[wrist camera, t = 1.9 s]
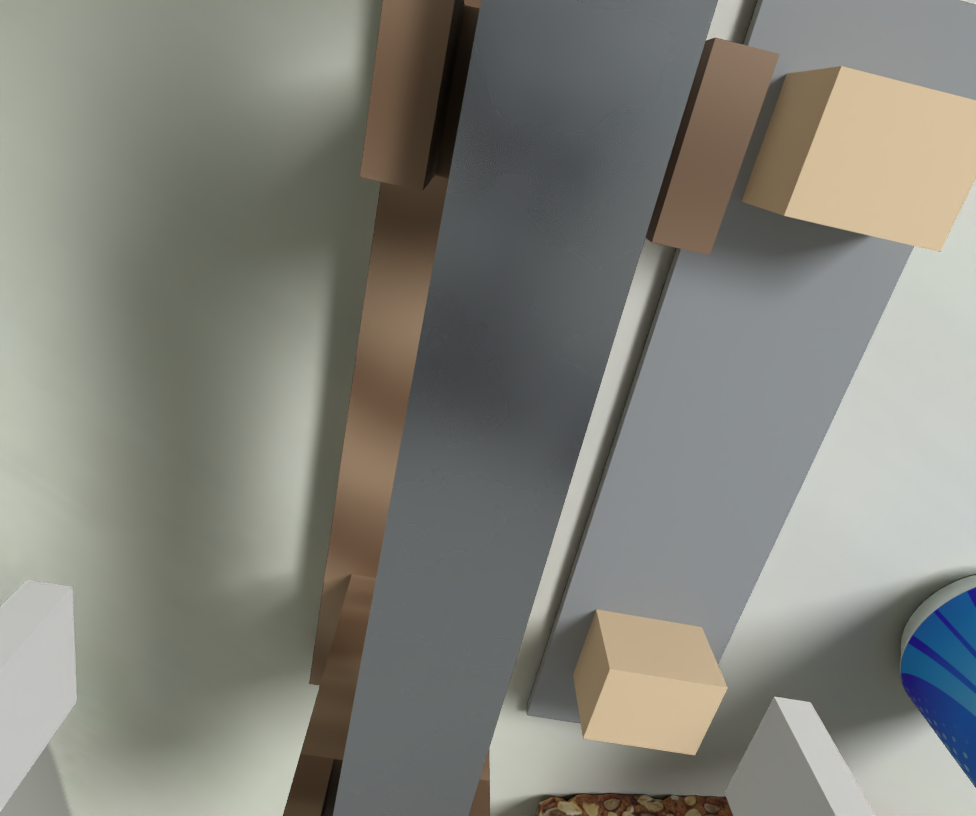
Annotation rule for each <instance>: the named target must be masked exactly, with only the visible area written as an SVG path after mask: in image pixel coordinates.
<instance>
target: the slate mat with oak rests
mask: <svg viewBox="0 0 976 816" xmlns="http://www.w3.org/2000/svg"><path fill="white" fill-rule="evenodd" d="M743 45H746V46H750V47H754V48H758V49H762V50H766V51H770V52H774V53H778V54H780V55H779V58H778V61H777V64H776V67H775V70H774V73H773V75H772V78H771V81H770V84H769V87H768V90H767V93H766V96H765V98H764V101H763V104H762V107H761V110H760V113H759V116H758V119H757V121H756V124H755V127H754V130H753V133H752V136H751V139H750V142H749V144H748V147H747V150H746V153H745V156H744V159H743V162H742V164H741V167H740V170H739V173H738V176H737V179H736V182H735V185H734V187H733V190H732V193H731V196H730V199H729V202H728V205H727V208H726V210H725V213H724V216H723V219H722V222H721V225H720V228H719V230H718V233H717V236H716V239H715V242H714V245H713V248H712V251H711V253H710V255H707V254H702V253H698V252H693V251H689V250H684V249H680V248H676V252H675V255H674V258H673V261H672V264H671V267H670V270H669V273H668V276H667V279H666V282H665V285H664V288H663V291H662V294H661V297H660V300H659V304H658V307H657V310H656V313H655V316H654V319H653V322H652V325H651V328H650V331H649V334H648V337H647V340H646V343H645V346H644V349H643V352H642V356H641V359H640V362H639V365H638V368H637V371H636V374H635V377H634V380H633V383H632V386H631V389H630V392H629V395H628V398H627V401H626V404H625V408H624V411H623V414H622V417H621V420H620V423H619V426H618V429H617V432H616V435H615V438H614V441H613V444H612V447H611V450H610V453H609V457H608V460H607V463H606V466H605V469H604V472H603V475H602V478H601V481H600V484H599V487H598V490H597V493H596V496H595V499H594V502H593V505H592V509H591V512H590V515H589V518H588V521H587V524H586V527H585V530H584V533H583V536H582V539H581V542H580V545H579V548H578V551H577V554H576V557H575V561H574V564H573V567H572V570H571V573H570V576H569V579H568V582H567V585H566V588H565V591H564V594H563V597H562V600H561V603H560V606H559V610H558V613H557V616H556V619H555V622H554V625H553V628H552V631H551V634H550V637H549V640H548V643H547V646H546V649H545V652H544V655H543V658H542V662H541V665H540V668H539V671H538V674H537V677H536V680H535V683H534V686H533V689H532V692H531V695H530V698H529V701H528V704H527V715H529V716H535V717H542V718H549V719H555V720H562V721H568V722H575V723H581V728H582V734H583V739H589V740H596V741H602V742H609V743H616V744H623V745H629V746H636V747H643V748H649V749H656V750H663V751H669V752H676V753H683V754H689V755H695V754H696V752H697V750H698V748H699V746H700V744H701V742H702V740H703V738H704V736H705V734H706V732H707V730H708V728H709V726H710V723H711V721H712V719H713V717H714V715H715V713H716V711H717V709H718V707H719V705H720V703H721V701H722V699H723V697H724V695H725V693H726V691H727V689H728V687H727V685H726V683H725V680H724V678H723V676H722V673H721V671H720V669H719V666H718V663H719V661H720V659H721V657H722V654H723V652H724V650H725V648H726V646H727V644H728V642H729V640H730V637H731V635H732V633H733V631H734V629H735V627H736V625H737V622H738V620H739V618H740V616H741V614H742V612H743V610H744V608H745V605H746V603H747V601H748V599H749V597H750V595H751V593H752V591H753V588H754V586H755V584H756V582H757V580H758V578H759V576H760V573H761V571H762V569H763V567H764V565H765V563H766V561H767V559H768V556H769V554H770V552H771V550H772V548H773V546H774V544H775V542H776V539H777V537H778V535H779V533H780V531H781V529H782V527H783V524H784V522H785V520H786V518H787V516H788V514H789V512H790V510H791V507H792V505H793V503H794V501H795V499H796V497H797V495H798V493H799V490H800V488H801V486H802V484H803V482H804V480H805V478H806V475H807V473H808V471H809V469H810V467H811V465H812V463H813V461H814V458H815V456H816V454H817V452H818V450H819V448H820V446H821V444H822V441H823V439H824V437H825V435H826V433H827V431H828V429H829V426H830V424H831V422H832V420H833V418H834V416H835V414H836V412H837V409H838V407H839V405H840V403H841V401H842V399H843V397H844V395H845V392H846V390H847V388H848V386H849V384H850V382H851V380H852V377H853V375H854V373H855V371H856V369H857V367H858V365H859V363H860V360H861V358H862V356H863V354H864V352H865V350H866V348H867V346H868V343H869V341H870V339H871V337H872V335H873V333H874V331H875V328H876V326H877V324H878V322H879V320H880V318H881V316H882V314H883V311H884V309H885V307H886V305H887V303H888V301H889V299H890V297H891V294H892V292H893V290H894V288H895V286H896V284H897V282H898V279H899V277H900V275H901V273H902V271H903V269H904V267H905V265H906V262H907V260H908V258H909V256H910V254H911V252H912V250H913V248H914V246H917V247H921V248H925V249H930V250H934V251H938V252H940V251H941V249H942V247H943V245H944V243H945V241H946V238H947V236H948V234H949V232H950V230H951V228H952V226H953V224H954V222H955V220H956V218H957V216H958V214H959V212H960V210H961V208H962V206H963V204H964V201H965V199H966V197H967V195H968V193H969V191H970V189H971V187H972V185H973V183H974V181H975V179H976V5H975V4H971V3H968V2H964V1H960V0H758V1H757V4H756V7H755V10H754V13H753V16H752V19H751V22H750V25H749V28H748V31H747V34H746V37H745V40H744V43H743Z"/></svg>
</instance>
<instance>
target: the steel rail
mask: <svg viewBox="0 0 976 816" xmlns="http://www.w3.org/2000/svg"><path fill="white" fill-rule="evenodd" d="M717 2H718V0H481V4H480V10H479V15H478V21H477V26H476V32H475V37H474V43H473V48H472V54H471V59H470V65H469V70H468V76H467V81H466V87H465V92H464V98H463V103H462V109H461V114H460V120H459V125H458V131H457V136H456V142H455V147H454V153H453V158H452V164H451V169H450V175H449V180H448V186H447V191H446V197H445V202H444V208H443V213H442V219H441V224H440V230H439V235H438V241H437V246H436V252H435V257H434V263H433V268H432V274H431V279H430V285H429V290H428V296H427V301H426V307H425V312H424V318H423V323H422V329H421V334H420V340H419V345H418V351H417V356H416V362H415V367H414V373H413V378H412V384H411V389H410V395H409V400H408V406H407V411H406V417H405V422H404V428H403V433H402V439H401V444H400V450H399V455H398V461H397V466H396V472H395V477H394V483H393V488H392V494H391V499H390V505H389V510H388V516H387V521H386V527H385V532H384V538H383V543H382V549H381V554H380V560H379V565H378V571H377V576H376V582H375V587H374V593H373V598H372V604H371V609H370V615H369V620H368V626H367V631H366V636H365V642H364V647H363V653H362V658H361V664H360V669H359V675H358V680H357V686H356V691H355V697H354V702H353V708H352V713H351V719H350V724H349V730H348V735H347V741H346V746H345V752H344V757H343V763H342V768H341V774H340V779H339V785H338V790H337V796H336V801H335V807H334V812H333V816H468V815H469V812H470V809H471V806H472V802H473V799H474V796H475V793H476V789H477V786H478V783H479V779H480V776H481V773H482V770H483V766H484V763H485V760H486V757H487V753H488V750H489V747H490V744H491V740H492V737H493V734H494V730H495V727H496V724H497V721H498V717H499V714H500V711H501V708H502V704H503V701H504V698H505V694H506V691H507V688H508V685H509V681H510V678H511V675H512V672H513V668H514V665H515V662H516V659H517V655H518V652H519V649H520V645H521V642H522V639H523V636H524V632H525V629H526V626H527V623H528V619H529V616H530V613H531V610H532V606H533V603H534V600H535V596H536V593H537V590H538V587H539V583H540V580H541V577H542V574H543V570H544V567H545V564H546V561H547V557H548V554H549V551H550V547H551V544H552V541H553V538H554V534H555V531H556V528H557V525H558V521H559V518H560V515H561V512H562V508H563V505H564V502H565V498H566V495H567V492H568V489H569V485H570V482H571V479H572V476H573V472H574V469H575V466H576V462H577V459H578V456H579V453H580V449H581V446H582V443H583V440H584V436H585V433H586V430H587V427H588V423H589V420H590V417H591V413H592V410H593V407H594V404H595V400H596V397H597V394H598V391H599V387H600V384H601V381H602V378H603V374H604V371H605V368H606V364H607V361H608V358H609V355H610V351H611V348H612V345H613V342H614V338H615V335H616V332H617V329H618V325H619V322H620V319H621V315H622V312H623V309H624V306H625V302H626V299H627V296H628V293H629V289H630V286H631V283H632V279H633V276H634V273H635V270H636V266H637V263H638V260H639V257H640V253H641V250H642V247H643V244H644V240H645V237H646V234H647V230H648V227H649V224H650V221H651V217H652V214H653V211H654V208H655V204H656V201H657V198H658V195H659V191H660V188H661V185H662V181H663V178H664V175H665V172H666V168H667V165H668V162H669V159H670V155H671V152H672V149H673V146H674V142H675V139H676V136H677V132H678V129H679V126H680V123H681V119H682V116H683V113H684V110H685V106H686V103H687V100H688V96H689V93H690V90H691V87H692V83H693V80H694V77H695V74H696V70H697V67H698V64H699V61H700V57H701V54H702V51H703V47H704V44H705V41H706V38H707V34H708V31H709V28H710V25H711V21H712V18H713V15H714V12H715V8H716V5H717Z"/></svg>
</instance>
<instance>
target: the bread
mask: <svg viewBox="0 0 976 816" xmlns="http://www.w3.org/2000/svg"><path fill="white" fill-rule="evenodd" d="M536 816H733V814H732V811H731V809H730V806H729V803H728V800H727V798H721V797H706V798H705V797H701V796H697V795H695V796H686V797H679V796H675V795H671V796H670V797H668V798H666V799H664V800H659V799H653V798H651V797H649V796H647V795H620V794H603V795H589V794H581V795H576V796H575V797H573V798H571V799H569V800H568V801H566V800H564V799H562V798H557V797H551V798H549V799H546V800H544V801H542V802H539V806H538V809H537V811H536Z"/></svg>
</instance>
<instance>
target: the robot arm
mask: <svg viewBox="0 0 976 816" xmlns="http://www.w3.org/2000/svg"><path fill="white" fill-rule="evenodd" d="M76 702H77V693H76V666H75V639H74V612H73V587H70V586H64V585H58V584H51V583H45V582H38V581H32V580H26V581H25V582H24V583H23V584H22V585H21V586H20V587H19V588H18V589H17V590H16V591H15V592H14V593H13V594H12V595H11V596H10V597H9V598H8V599H7V600H6V601H5V602H4V603H3V604H2V605H1V606H0V812H1V810H2V809H3V807H4V806H5V804H6V803H7V801H8V800H9V799H10V797H11V796H12V794H13V793H14V791H15V790H16V789H17V787H18V786H19V784H20V783H21V781H22V780H23V779H24V777H25V776H26V774H27V773H28V771H29V770H30V768H31V767H32V766H33V764H34V763H35V761H36V760H37V758H38V757H39V755H40V754H41V753H42V751H43V750H44V748H45V747H46V745H47V744H48V743H49V741H50V740H51V738H52V737H53V735H54V734H55V732H56V731H57V730H58V728H59V727H60V725H61V724H62V722H63V721H64V719H65V718H66V717H67V715H68V714H69V712H70V711H71V709H72V708H73V706H74V705H75V704H76ZM725 795H726V798H727V800H728V803H729V806H730V809H731V811H732V814H733V816H876V815H875V813H874V811H873V810H872V808H871V806H870V804H869V803H868V801H867V799H866V797H865V796H864V794H863V792H862V790H861V789H860V787H859V785H858V784H857V782H856V780H855V778H854V777H853V775H852V773H851V771H850V770H849V768H848V766H847V764H846V763H845V761H844V759H843V757H842V756H841V754H840V752H839V751H838V749H837V747H836V745H835V744H834V742H833V740H832V738H831V737H830V735H829V733H828V731H827V730H826V728H825V726H824V725H823V723H822V721H821V719H820V718H819V716H818V714H817V712H816V711H815V709H814V707H813V705H812V704H811V702H806V701H800V700H793V699H787V698H781V697H773V699H772V701H771V703H770V705H769V707H768V709H767V711H766V713H765V715H764V717H763V719H762V721H761V723H760V725H759V726H758V728H757V730H756V732H755V734H754V736H753V738H752V740H751V742H750V744H749V746H748V748H747V750H746V752H745V754H744V756H743V758H742V760H741V762H740V763H739V765H738V767H737V769H736V771H735V773H734V775H733V777H732V779H731V781H730V783H729V785H728V787H727V789H726V791H725Z"/></svg>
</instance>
